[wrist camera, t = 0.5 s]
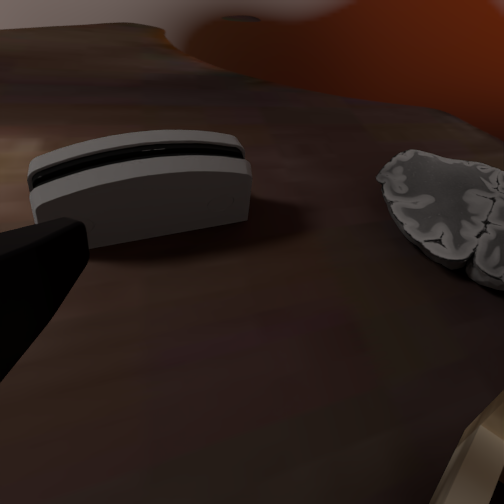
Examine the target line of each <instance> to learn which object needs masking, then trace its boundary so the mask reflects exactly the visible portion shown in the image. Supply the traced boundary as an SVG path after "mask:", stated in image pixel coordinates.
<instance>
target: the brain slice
mask: <svg viewBox="0 0 504 504" xmlns="http://www.w3.org/2000/svg"><path fill="white" fill-rule="evenodd" d="M376 180H377V181H378V182H379V183H380V184H382V193H383V197H384V200H385V202H386V204H387V206H388V210H389V212H390V214H391V217H392V218H393V220H394V221H395V223H396V225H397V226H398V227H399V229H400V230H401V232H402V233H403V234H404V236H405V237H406V238H407V239H408V240H409V241H410V242H412V243H413V244H415V245H417V246H418V247H419V248H420V249H421V250H422V252H423V253H424V254H425V255H426V256H427V257H429V258H430V259H432V260H433V261H435V262H437V263H440V264H442V265H443V266H445V267H447V268H449V269H451V270H453V269H459V268H463V267H464V266H465V264H466V262H467V264H466V265H467V266H466V269H465V271H466V273H467V275H468V277H469V278H471V279H472V280H474V281H475V282H476V283H478V284H480V285H483V286H486V287H490V288H493V289H496V290H503V291H504V171H501V170H500V169H497V168H494V167H492V166H489V165H486V164H483V163H479V162H469V161H464V160H453V159H448V158H443V157H440V156H437V155H434V154H430V153H426V152H423V151H419V150H407V151H404V152H401V153H399V154H397V155H396V156H394V157H393V158H392V159H391V160H390V162H388V163H387V164H386V165H385V166H384V167H383V168H382V169H381V170H380V171H379V174H378V175H377V176H376Z"/></svg>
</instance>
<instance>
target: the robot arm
mask: <svg viewBox="0 0 504 504" xmlns="http://www.w3.org/2000/svg"><path fill="white" fill-rule="evenodd" d="M88 260H89V247H88V239H87V232H86V226H85V224H84V223H83V222H82V221H79V220H75V219H71V218H67V217H62V218H58V219H54V220H50V221H46V222H42V223H38V224H34V225H30V226H26V227H22V228H18V229H14V230H10V231H6V232H2V233H0V382H1V381H2V380H3V379H4V377H5V376H6V375H7V374H8V372H9V371H10V370H11V369H12V368H13V366H14V365H15V364H16V363H17V361H18V360H19V359H20V358H21V356H22V355H23V354H24V353H25V351H26V350H27V349H28V348H29V347H30V345H31V344H32V343H33V342H34V340H35V339H36V338H37V337H38V335H39V334H40V333H41V332H42V330H43V329H44V328H45V327H46V325H47V324H48V323H49V321H50V320H51V319H52V317H53V316H54V314H55V313H56V311H57V310H58V308H59V307H60V305H61V304H62V302H63V301H64V299H65V297H66V296H67V294H68V293H69V291H70V290H71V288H72V287H73V285H74V284H75V282H76V280H77V279H78V277H79V276H80V274H81V273H82V271H83V270H84V268H85V267H86V265H87V263H88Z"/></svg>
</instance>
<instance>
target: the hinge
mask: <svg viewBox="0 0 504 504" xmlns="http://www.w3.org/2000/svg"><path fill="white" fill-rule="evenodd" d="M27 181H28V186H29V191H30V196H29V198H30V203H31V207H32V212H33V216H34V221H35V224H38V223H42V222H46V221H50V220H54V219H58V218H62V217H67V218H71V219H75V220H79V221H82V222H83V223H84V224H85V226H86V232H87V239H88V247H89V249H92V248H97V247H103V246H108V245H114V244H119V243H125V242H130V241H136V240H141V239H147V238H153V237H158V236H164V235H169V234H175V233H180V232H186V231H191V230H197V229H202V228H208V227H213V226H219V225H225V224H230V223H236V222H241V221H247V220H248V212H249V203H250V195H251V186H252V173H251V165H250V163H249V162H248V161H247V160H245V150H244V148H243V147H242V145H241V144H240V142H239V141H238V140H237V138H236V137H234V136H232V135H228V134H222V133H215V132H207V131H197V130H156V131H143V132H134V133H127V134H120V135H113V136H108V137H103V138H98V139H94V140H89V141H85V142H81V143H77V144H74V145H70V146H67V147H64V148H61V149H58V150H55V151H52V152H49V153H46V154H44V155H41V156H38V157H36V158H34V159H33V160H32V161H31V162H30V165H29V171H28V179H27Z"/></svg>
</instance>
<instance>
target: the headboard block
mask: <svg viewBox="0 0 504 504" xmlns="http://www.w3.org/2000/svg"><path fill="white" fill-rule="evenodd" d="M498 480H499V481H500V482H502V483H503V484H504V390H503V391H502V392H501V393H500V394H499V395H498V396H497V397H496V398H495V399H494V400H493V401H492V402H491V403H490V404H489V406H488V407H487V408H486V409H485V410H484V411H483V412H482V413H481V414H480V415H479V416H478V417H477V418H476V419H475V420H474V421H473V422H472V423H471V424H470V425H469V426H468V427H467V428H466V429H465V431H464V433H463V435H462V437H461V439H460V441H459V443H458V445H457V447H456V449H455V451H454V454H453V456H452V458H451V460H450V462H449V464H448V466H447V468H446V470H445V472H444V474H443V476H442V478H441V480H440V482H439V484H438V486H437V488H436V490H435V492H434V494H433V497H432V499H431V501H430V503H429V504H489V502H490V500H491V497H492V495H493V492H494V489H495V487H496V484H497V482H498Z"/></svg>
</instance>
